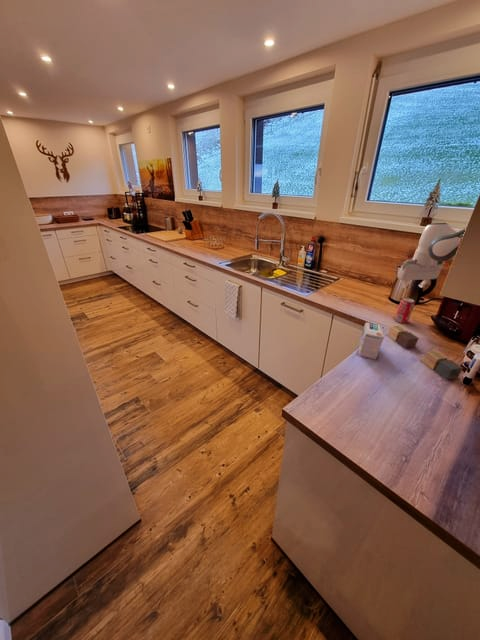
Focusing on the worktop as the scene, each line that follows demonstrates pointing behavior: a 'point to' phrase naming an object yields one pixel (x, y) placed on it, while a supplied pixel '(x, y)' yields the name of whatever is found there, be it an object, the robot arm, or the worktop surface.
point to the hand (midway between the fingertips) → (412, 287)
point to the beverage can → (404, 310)
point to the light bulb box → (371, 340)
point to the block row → (431, 358)
